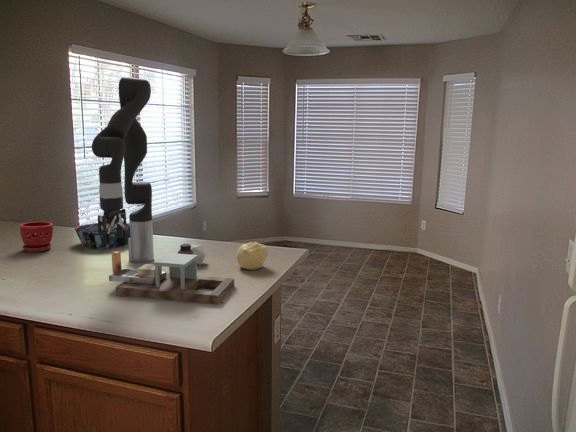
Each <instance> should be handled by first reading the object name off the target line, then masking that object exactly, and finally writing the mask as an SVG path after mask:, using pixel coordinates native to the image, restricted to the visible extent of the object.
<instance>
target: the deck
mask: <svg viewBox="0 0 576 432" xmlns="http://www.w3.org/2000/svg"><path fill="white" fill-rule="evenodd" d="M234 288H235V278H231V277H218V276H207V275H205V276H204V275H197V279H186V278H185V289H181V278H174V277H170V275H169V273H168V272H166V277H165V278H164V279H162V280H161V281H160V287H156V284H155V285H154V284H142V283H130V282H120V284H118V285H116V286H115V296H118V297H131V298H142V299H151V300H152V299H153V300H163V301H175V302H185V303H199V304H209V305H219V304H220V303H222V301H223V300H224V299H225V297H227V296H228V294H229V293H230V292H231V290H233V289H234Z"/></svg>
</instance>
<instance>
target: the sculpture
mask: <svg viewBox="0 0 576 432" xmlns="http://www.w3.org/2000/svg"><path fill="white" fill-rule="evenodd" d="M268 252H269V249H268V248H267V246H266V245H265V244H262V243H260V242H257V241H254V242H253V241H251V242H246V243H244V244H242V245H240V246H239V248H238V249H237V252H236V262H237V264H238V266H239V267H241V268H243V269H245V270H249V271H254V270H255V271H256V270H258V269H260V268H261V267H263V265H264V263H265V261H266V259H267V258H268Z"/></svg>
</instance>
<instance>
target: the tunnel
mask: <svg viewBox="0 0 576 432" xmlns="http://www.w3.org/2000/svg"><path fill="white" fill-rule="evenodd" d="M197 259H198V255H190V254H178V253H174V252H173V253H172V252H169V253H167V254H164V255H163V256H161V257H160V258H157V260H155V261H153V264H154V266H155V278H156V287H160V274H159V266H162V267H166V268H167V267H168V268H169V275H170V277H174V278H181V289H185V278H186V279H197V276H198V269H197V268H198V266H197Z"/></svg>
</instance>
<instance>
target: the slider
mask: <svg viewBox="0 0 576 432" xmlns="http://www.w3.org/2000/svg"><path fill="white" fill-rule="evenodd" d="M121 255H122V254H121V251H117V250H116V251H112V252H111V268H112V269H111V271H112V273H110V274H108V281H109V282H118V283H123V282H130V283H142V284H154V285H155V284H156V278H155V277H154V278H149V277H138V268H130V267H122V257H121ZM166 273H167V271H166V270H162V272H161V273H160V281H161V280H162V279H164V278H165V277H166Z"/></svg>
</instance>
